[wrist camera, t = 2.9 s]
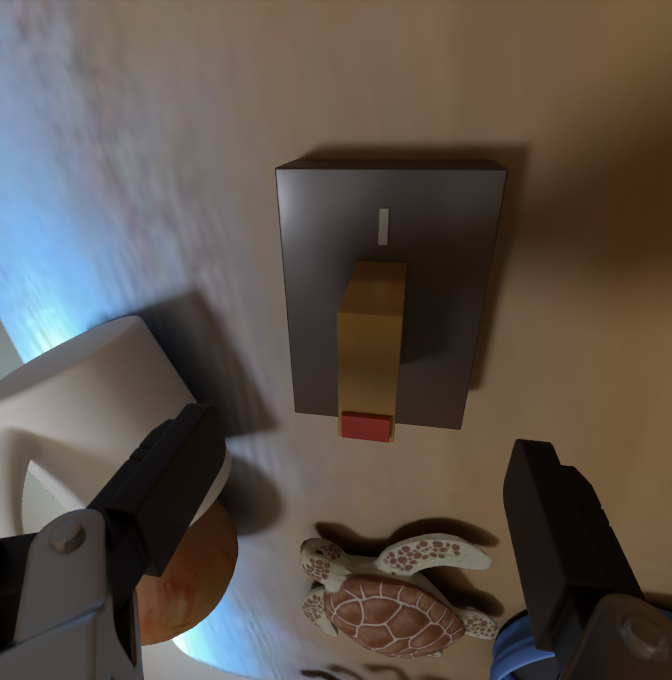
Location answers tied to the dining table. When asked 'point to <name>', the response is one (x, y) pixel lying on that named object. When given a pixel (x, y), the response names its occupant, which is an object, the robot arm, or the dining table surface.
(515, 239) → the dining table surface
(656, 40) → the dining table surface
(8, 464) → the mug
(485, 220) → the plate
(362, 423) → the tan switch toggle
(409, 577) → the decorative turtle
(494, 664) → the bowl
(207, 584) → the onion
